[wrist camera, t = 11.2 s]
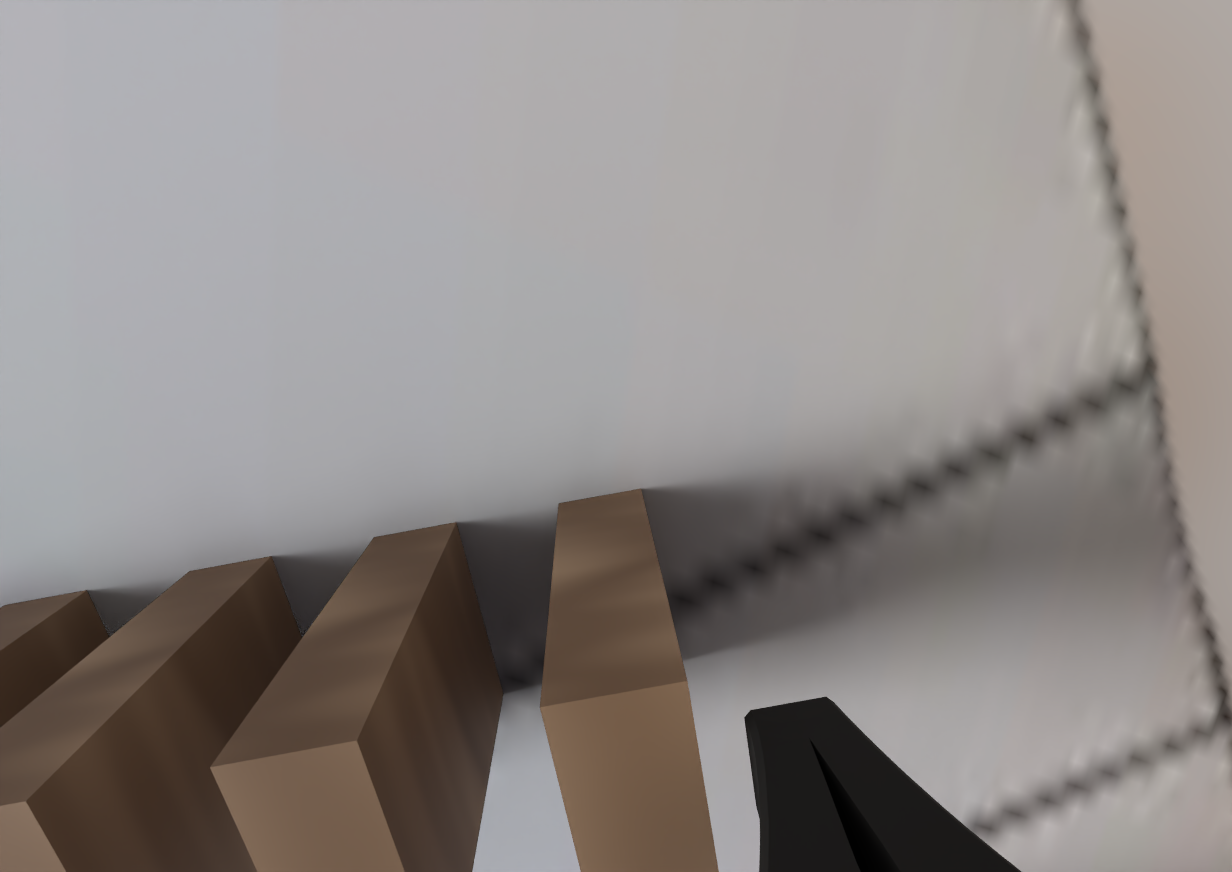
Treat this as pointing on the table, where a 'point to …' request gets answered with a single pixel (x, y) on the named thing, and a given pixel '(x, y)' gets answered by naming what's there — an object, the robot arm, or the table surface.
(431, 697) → the domino
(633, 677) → the end domino
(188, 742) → the domino
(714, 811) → the table surface
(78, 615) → the domino
